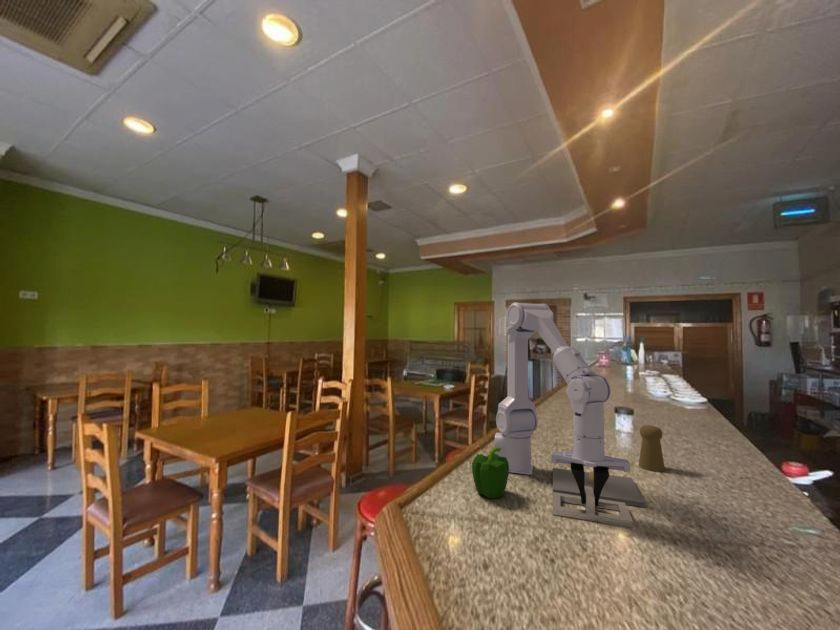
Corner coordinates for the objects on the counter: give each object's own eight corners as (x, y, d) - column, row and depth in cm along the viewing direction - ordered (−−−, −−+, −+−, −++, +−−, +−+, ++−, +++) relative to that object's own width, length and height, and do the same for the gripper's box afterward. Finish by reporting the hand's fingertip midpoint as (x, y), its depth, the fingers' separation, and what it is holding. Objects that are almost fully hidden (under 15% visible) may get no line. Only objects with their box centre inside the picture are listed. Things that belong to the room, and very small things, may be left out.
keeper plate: (552, 493, 83) (552, 478, 83) (552, 471, 96) (552, 458, 96) (645, 507, 76) (644, 491, 77) (631, 481, 90) (631, 468, 90)
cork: (669, 472, 96) (668, 429, 96) (643, 470, 97) (642, 428, 98) (659, 464, 102) (658, 424, 102) (635, 462, 103) (634, 422, 103)
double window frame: (552, 514, 73) (552, 493, 73) (552, 497, 81) (552, 479, 81) (632, 527, 68) (632, 505, 69) (625, 508, 76) (624, 488, 76)
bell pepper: (478, 503, 78) (478, 455, 78) (467, 487, 86) (467, 443, 86) (516, 501, 79) (516, 453, 79) (501, 485, 87) (501, 442, 87)
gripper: (550, 436, 74) (551, 505, 73) (633, 444, 69) (634, 518, 68) (551, 427, 81) (551, 491, 80) (626, 434, 76) (627, 502, 75)
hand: (589, 502), depth 75 cm, fingers closed
